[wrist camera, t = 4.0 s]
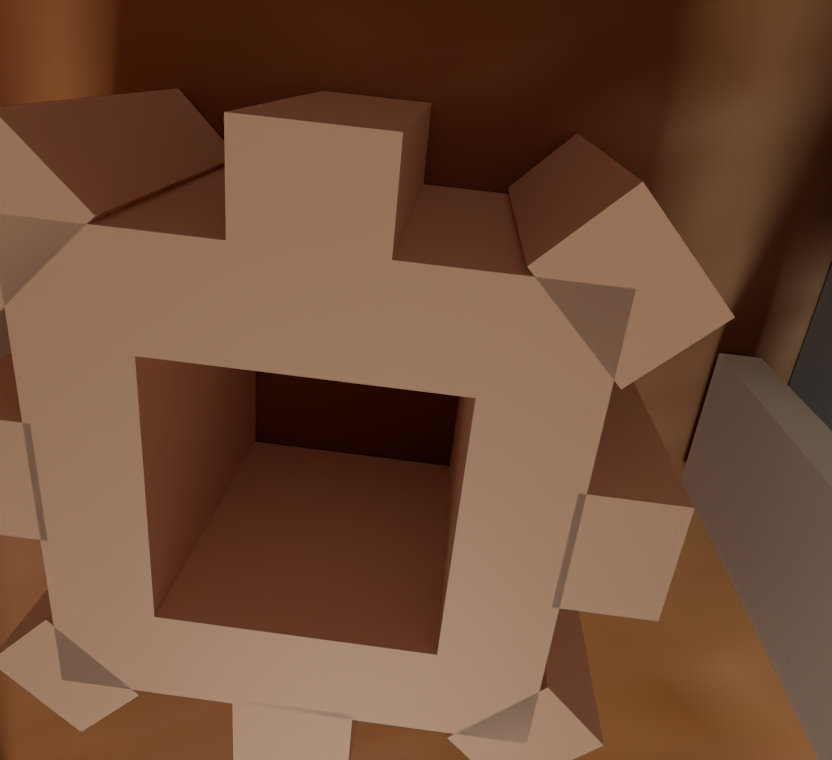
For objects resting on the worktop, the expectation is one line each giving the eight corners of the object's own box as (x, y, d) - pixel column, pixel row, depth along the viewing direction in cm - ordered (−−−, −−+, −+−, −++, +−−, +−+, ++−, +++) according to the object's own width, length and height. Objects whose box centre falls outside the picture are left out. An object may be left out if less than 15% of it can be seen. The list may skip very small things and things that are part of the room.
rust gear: (89, 64, 12) (-155, 69, 7) (671, 129, 11) (800, 176, 7) (130, 535, 16) (-10, 728, 11) (561, 591, 15) (596, 813, 11)
